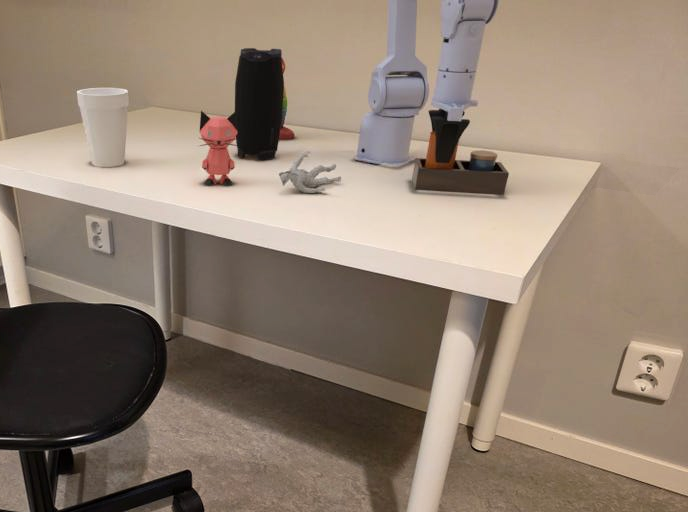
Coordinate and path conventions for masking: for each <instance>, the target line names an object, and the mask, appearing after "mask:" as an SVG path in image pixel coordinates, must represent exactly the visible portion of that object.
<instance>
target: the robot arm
mask: <svg viewBox="0 0 688 512" xmlns="http://www.w3.org/2000/svg"><path fill="white" fill-rule="evenodd" d="M499 1H500V0H442V2H441V3H440V19H441V26H440V27H441V28H440V37H441V38H442V42H441V43H442V44H441V48H440V49H441V51H440V55H439V61H438V68H437V74H436V78H435V85H434V91H433V96H432V98H431V101H430V106H433V107H435V108H437V109H429V110H428V115H429V119H430V125H431V132H433V131H435V137H436V144H435V160H436V163H449V162H450V160H451V158H452V155H453V153H454V150H455V148H456V145H457V143H458V141H459V142H460V139H461V137H462V135H463V133H464V132H465V130H466V129H467V128H468V127H469V125H470V124H471V121H470V119H468V118H467V119H466V118H463V117H464V116H465V114H466V113H465V111H466V110H467V109H469V108H471V107H478V104H479V101H478V100H477V99H472V94H473V89H474V84H475V80H476V79H475V78H476V75H477V69H478V64H479V59H480V54H481V50H482V45H483V39H484V33H485V28H486V25H488V24H489V23H490V22H492V20H493V18H494V17H495V15H496V13H497V10H498V7H499ZM417 13H418V0H388V1H387V34H386V35H387V36H386V37H387V38H386V39H387V40H386V57H385V59H384V60H382V61H381V62H380V63H379V64H378V65H376V67H375V68H374V69H373V70H372V71H371V77H370V84H369V88H368V94H367V100H368V104H369V108H370V110H371V111H368V112H366V114H365V115H364V116H363V118H362V120H361V123H360V127H359V136H358V142H357V143H358V144H357V151H356V156H355V157H354V160H355V161H359V162H364V163H370V164H375V165H382V164H386V165H390V166H396V167H399V166H401V165H404V164H407V163H409V162H411V161H415V158H416V157H414V156H413V157H412V156H409V155H410V148H411V142H412V136H413V130H414V123H415V118H416V116H419V115H420V114H419V113H420V112H421V110H423V109H424V107H425V106H426V104H427V103H428V100H429V96H430V83H429V81H428V80H429V79H428V67H427V66H426V64H424V62H423V61H422V60H420V58H418V57H417V56H416V44H417V42H416V41H417V19H418V18H417V16H418V15H417ZM458 144H459V143H458Z"/></svg>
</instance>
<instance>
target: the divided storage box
mask: <svg viewBox="0 0 688 512" xmlns="http://www.w3.org/2000/svg"><path fill="white" fill-rule="evenodd" d="M414 158H415V159H414V164H413V169H412V177H411V180H412V185H413V188H414V191H429V192H430V191H431V192H445V193H461V194H462V193H464V194H482V195H495V196H497V195H498V196H499V195H500V196H504V195H505V191H506V187H507V183H508V180H509V175H510V173H509V171H508V170H507V169H506V167H505V166H504V164H503V163H502V162H501V161H496V162H495V166H494V170H493V171H477V170H468V166H469V161H470V160H467V159H465V160H463V159H455V163H454V168H453V169H438V168H425V163H426V158H425V157H424V158H423V157H414Z"/></svg>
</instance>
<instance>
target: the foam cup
mask: <svg viewBox="0 0 688 512" xmlns="http://www.w3.org/2000/svg"><path fill="white" fill-rule="evenodd" d="M76 97H77V99H76V100H77V106H78V108H79V111H80V116H81V120H82V124H83V130H84V133H85V139H86V143H87V148H88V153H89V157H90V161H91V165H92V166H94V167H99V168H113V167H114V168H115V167H119V166H122V165H124V164H125V159H126V146H127V145H126V143H127V129H128V128H127V127H128V114H129V113H128V112H129V105H130V98H129V97H130V96H129V91H128V89H125V88H118V87H91V88H83V89H79V90H77V91H76Z"/></svg>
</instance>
